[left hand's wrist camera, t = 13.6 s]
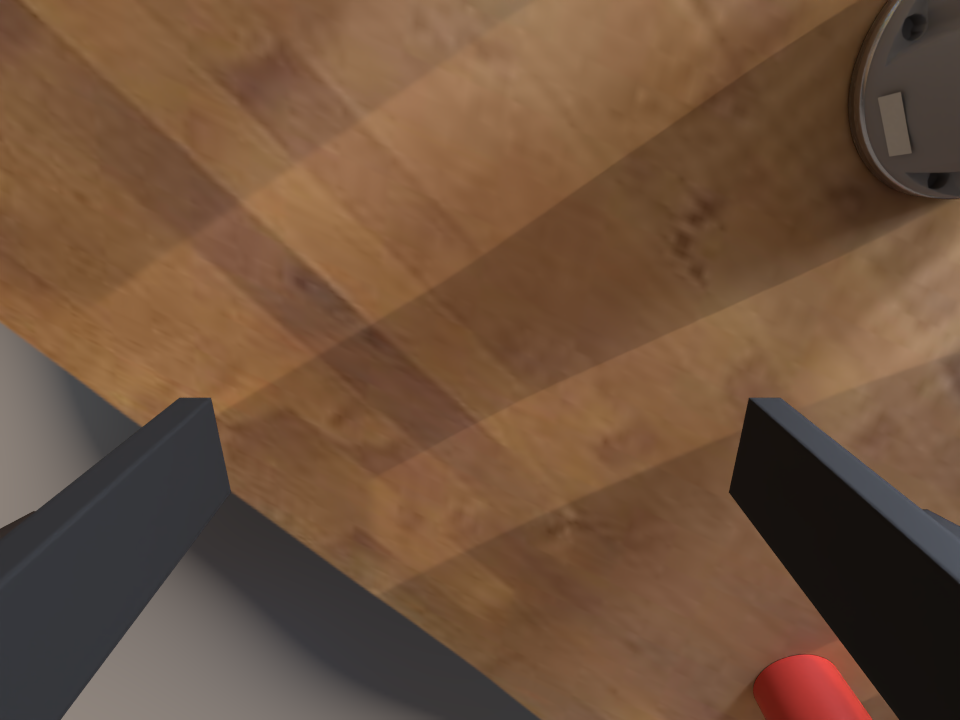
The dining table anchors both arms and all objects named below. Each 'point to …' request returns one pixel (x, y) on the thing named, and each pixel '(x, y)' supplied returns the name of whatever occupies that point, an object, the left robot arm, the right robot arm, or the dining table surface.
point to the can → (806, 691)
